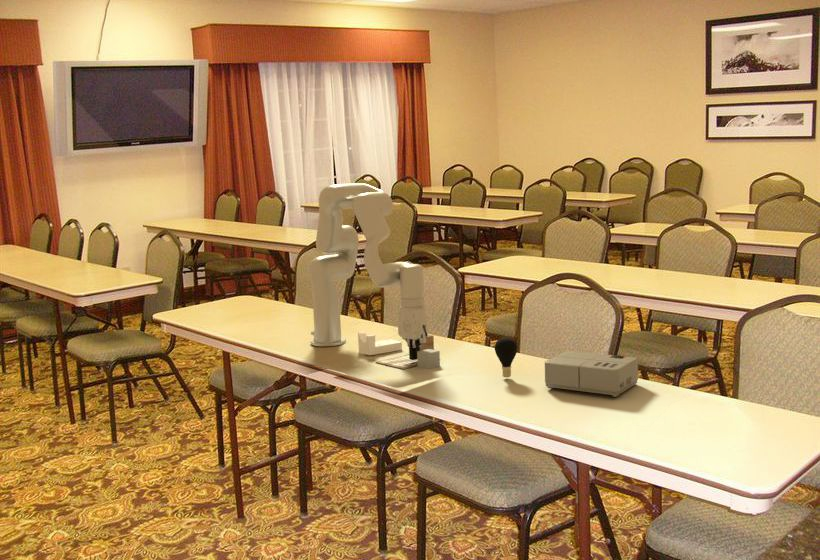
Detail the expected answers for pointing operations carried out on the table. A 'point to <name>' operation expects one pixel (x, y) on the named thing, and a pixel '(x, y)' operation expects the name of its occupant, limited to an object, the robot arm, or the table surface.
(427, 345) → the walnut block
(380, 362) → the brown white flat panel
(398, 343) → the bracket
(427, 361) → the block
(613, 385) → the projector
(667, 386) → the table surface
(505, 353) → the light bulb
